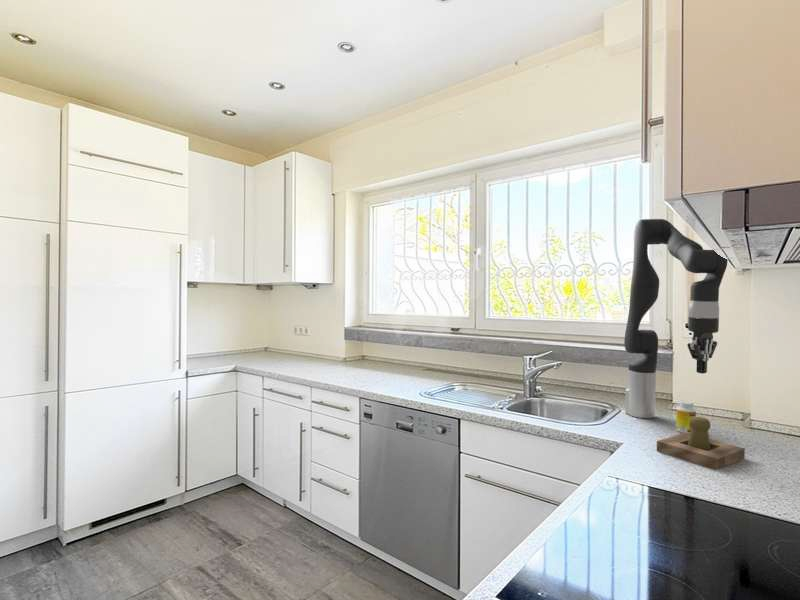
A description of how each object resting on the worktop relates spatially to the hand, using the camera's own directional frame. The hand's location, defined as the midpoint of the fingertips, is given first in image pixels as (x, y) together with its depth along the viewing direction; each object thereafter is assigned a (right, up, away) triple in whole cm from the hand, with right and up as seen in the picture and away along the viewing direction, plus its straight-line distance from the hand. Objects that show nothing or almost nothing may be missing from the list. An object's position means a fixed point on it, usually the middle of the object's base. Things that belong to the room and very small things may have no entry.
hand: (701, 372), depth 131 cm
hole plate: (-3, -23, -4) cm, 24 cm away
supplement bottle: (+6, -23, +17) cm, 29 cm away
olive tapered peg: (-4, -24, -4) cm, 24 cm away
